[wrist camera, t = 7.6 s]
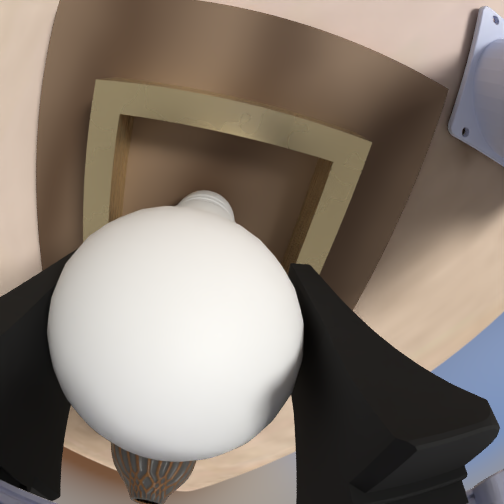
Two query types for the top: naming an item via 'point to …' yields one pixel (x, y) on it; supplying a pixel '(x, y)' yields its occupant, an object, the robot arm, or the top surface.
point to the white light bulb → (176, 331)
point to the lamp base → (223, 144)
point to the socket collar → (232, 122)
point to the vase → (150, 475)
